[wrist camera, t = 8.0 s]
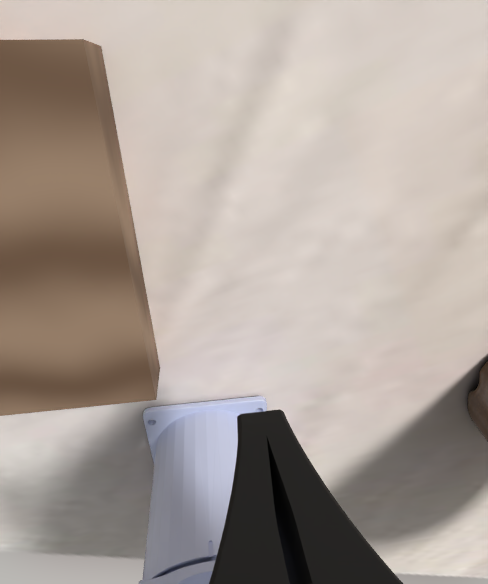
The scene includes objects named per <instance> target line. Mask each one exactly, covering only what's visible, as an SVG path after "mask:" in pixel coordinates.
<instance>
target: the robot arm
mask: <svg viewBox="0 0 488 584" xmlns="http://www.w3.org/2000/svg"><path fill="white" fill-rule="evenodd" d="M258 408H260V409H258ZM143 420H144V424H145V428H146V433H147V437H148V441H149V445H150V449H151V454H152V458H153V462H154V475H153V484H152V494H151V504H150V513H149V523H148V533H147V542H146V552H145V562H144V572H143V580H141V581H140V582H139V584H403V583H402V582H401V581H400V580H399V579H398V578H397V576H396V575H395V574H394V573H393V572H392V571H391V570H390V568H389V567H388V566H387V565H386V564H385V563H384V561H383V560H382V559H381V558H380V557H379V555H378V554H377V553H376V552H375V551H374V549H373V548H372V547H371V546H370V545H369V543H368V542H367V541H366V540H365V538H364V537H363V536H362V535H361V533H360V532H359V531H358V530H357V528H356V527H355V526H354V524H353V523H352V522H351V520H350V519H349V518H348V516H347V515H346V514H345V512H344V511H343V510H342V508H341V507H340V505H339V504H338V503H337V501H336V500H335V498H334V497H333V496H332V494H331V493H330V491H329V490H328V488H327V487H326V485H325V484H324V482H323V481H322V479H321V478H320V476H319V475H318V473H317V472H316V470H315V468H314V467H313V465H312V464H311V462H310V461H309V459H308V457H307V456H306V454H305V452H304V451H303V449H302V447H301V445H300V444H299V442H298V440H297V438H296V436H295V435H294V433H293V431H292V429H291V427H290V425H289V423H288V421H287V419H286V417H285V414H284V412H283V411H281V410H272V411H267V403H266V399H265V398H264V397H262V396H255V397H245V398H236V399H226V400H216V401H207V402H197V403H188V404H178V405H168V406H159V407H150V408H147V409H145V410H144V412H143Z"/></svg>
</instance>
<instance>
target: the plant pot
mask: <svg viewBox="0 0 488 584" xmlns="http://www.w3.org/2000/svg"><path fill="white" fill-rule="evenodd" d="M468 411H469V414H470V417H471V419H472V421H473V422H474V424H475V425H476V426H477V428H478V429H479V431H480V432H481V433H482V435H483V436H484V437H485V439H486V440H487V441H488V361H487V362H486V364H485V365H484V366H483V367H482V369H481V370H480V376H479V385H478V387H477V388H476V390H475V391H471V392H470V393H469V395H468Z"/></svg>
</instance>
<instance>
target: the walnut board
mask: <svg viewBox="0 0 488 584" xmlns="http://www.w3.org/2000/svg"><path fill="white" fill-rule="evenodd" d="M159 372H160V366H159V360H158V355H157V349H156V344H155V338H154V333H153V327H152V322H151V316H150V311H149V305H148V300H147V295H146V289H145V284H144V278H143V273H142V267H141V262H140V256H139V251H138V245H137V240H136V234H135V229H134V223H133V218H132V213H131V207H130V202H129V196H128V191H127V185H126V180H125V174H124V169H123V163H122V158H121V152H120V147H119V141H118V136H117V131H116V125H115V120H114V114H113V109H112V103H111V98H110V92H109V87H108V81H107V76H106V70H105V65H104V60H103V54H102V49H101V46H99V45H96V44H94V43H91V42H88V41H86V40H83V39H79V40H0V416H2V415H12V414H22V413H32V412H42V411H51V410H61V409H71V408H81V407H90V406H100V405H110V404H120V403H129V402H139V401H149V400H156V397H157V389H158V380H159Z"/></svg>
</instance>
